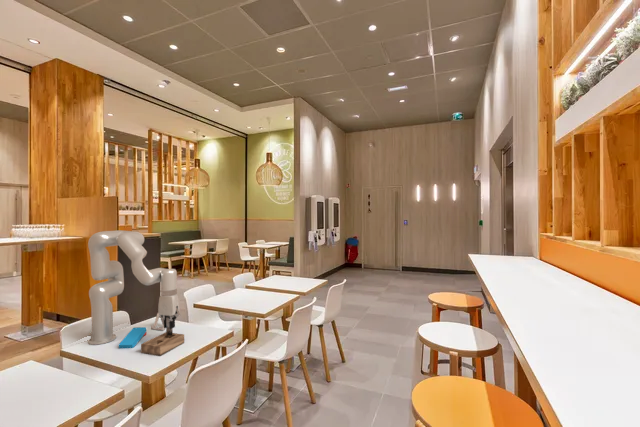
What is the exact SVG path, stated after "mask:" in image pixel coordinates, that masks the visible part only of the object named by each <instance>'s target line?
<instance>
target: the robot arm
mask: <svg viewBox="0 0 640 427" xmlns="http://www.w3.org/2000/svg"><path fill="white" fill-rule="evenodd" d="M144 243H145V236H144V234H143V233H141V232H139V231H132V230H131V231H130V230H118V229H117V230H103V231H99V232H96V233H93V234H92V235H91V236H90V237H89V239H88V243H87V245H88V246H87V247H88V252H89V256H90V272H91V274H90V275H91V277H92V279H93V280H94V281H101V282H99V283H96V284H94V285H92V286H91V287H90V288H89V290H88V297H89V300H90V307H91V308H90V309H91V311H90V312H91V331H90V332H89V333H88V335H87V336H89V337H90V338H89V339H88V340H87V344H89V345H93V346H96V345H103V344H107V343H110V342H112V341H114V340H116V339H117V335H116V334H115V333H114V322H113V321H114V319H113V318H114V317H113V316H114V314H113V313H114V312H113V311H114V310H113V308H114V307H113V303H112V302H111V301H110V298H115V297H117V296H119V295H121V294H122V293H123V291H124V288H125V277H124V276H125V275H124V266H123V264H122V263H121V262H120V261H118V260H110V253H109V251H108V249H107V247H115V246H119V248H120V250H121V251H123V253H124V254H125V255H126V256H127V257H128V259H129V260H130V261H131V263H130V264H131V270H132V271H131V272H132V274H133V275H134V277H135V278H136V279H137V280H138V281H139V283H141V284H142V285H144V286H151V285H155V284H158V283H160V291H159V292H160V295H159V297H158V298H159V299H158V307H157V309H158V310H157V311H158V312H157V313H159V315H160V316H161V317H162V318H163V321H164V328H165V329H166V316H170V322H169V328H170V329H172V328H173V329H175V328H176V320H177V318H178V317H180V316H181V314H180V299H179V295H178V280H177V279H178V277H177V276H178V272H177V270H176V268H163V267H157V268H153V269H148V268H147V267H146V266H145V264H144V262H143V259H144V258H145V257H147V254H148V251H147V250H146V249H145V247H144V246H143V244H144ZM103 280H106V281H103Z"/></svg>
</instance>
